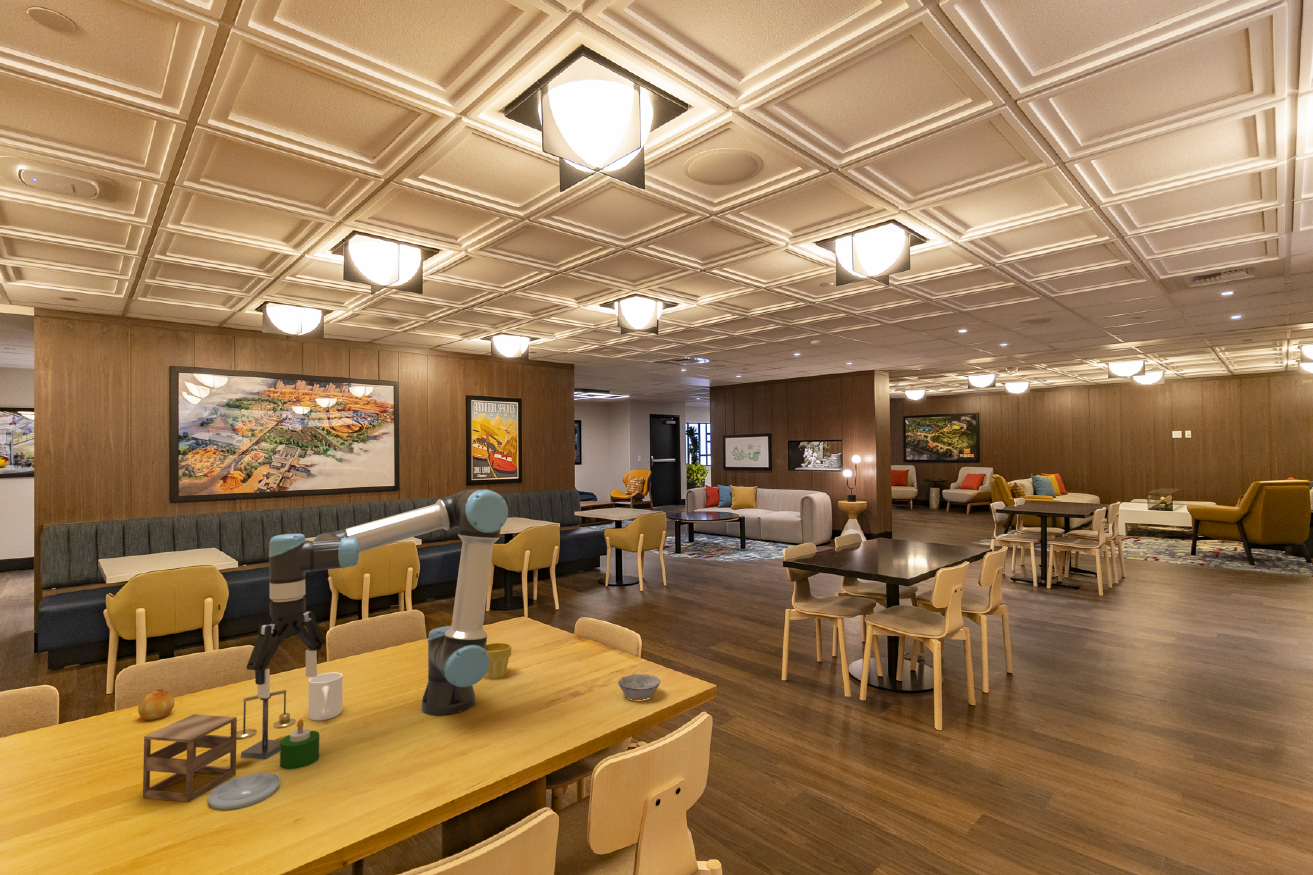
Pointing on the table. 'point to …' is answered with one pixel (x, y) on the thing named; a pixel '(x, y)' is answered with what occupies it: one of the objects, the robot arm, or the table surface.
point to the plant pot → (497, 659)
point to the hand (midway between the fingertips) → (288, 686)
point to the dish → (243, 791)
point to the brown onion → (156, 705)
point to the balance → (264, 730)
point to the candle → (299, 748)
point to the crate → (189, 755)
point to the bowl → (639, 686)
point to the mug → (325, 696)
